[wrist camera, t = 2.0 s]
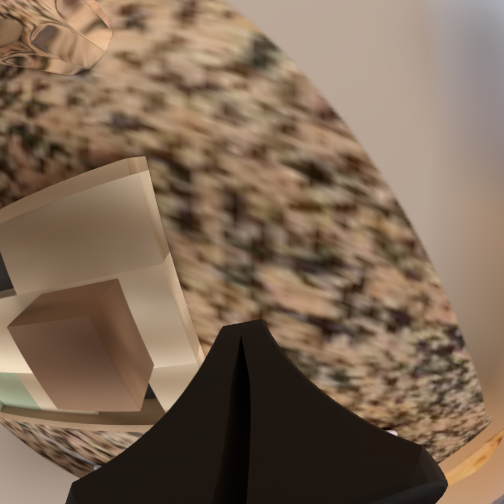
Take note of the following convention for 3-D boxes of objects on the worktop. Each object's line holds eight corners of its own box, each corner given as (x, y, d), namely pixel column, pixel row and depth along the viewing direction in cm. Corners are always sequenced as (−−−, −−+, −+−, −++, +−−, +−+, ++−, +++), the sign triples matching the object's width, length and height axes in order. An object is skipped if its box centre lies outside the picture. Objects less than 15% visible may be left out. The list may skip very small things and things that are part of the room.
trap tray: (219, 396, 16) (219, 427, 13) (12, 398, 16) (0, 416, 14) (145, 155, 11) (126, 158, 9) (-63, 246, 11) (-84, 258, 9)
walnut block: (154, 364, 13) (140, 411, 10) (79, 369, 13) (57, 409, 10) (117, 278, 11) (88, 316, 8) (40, 294, 11) (6, 326, 9)
